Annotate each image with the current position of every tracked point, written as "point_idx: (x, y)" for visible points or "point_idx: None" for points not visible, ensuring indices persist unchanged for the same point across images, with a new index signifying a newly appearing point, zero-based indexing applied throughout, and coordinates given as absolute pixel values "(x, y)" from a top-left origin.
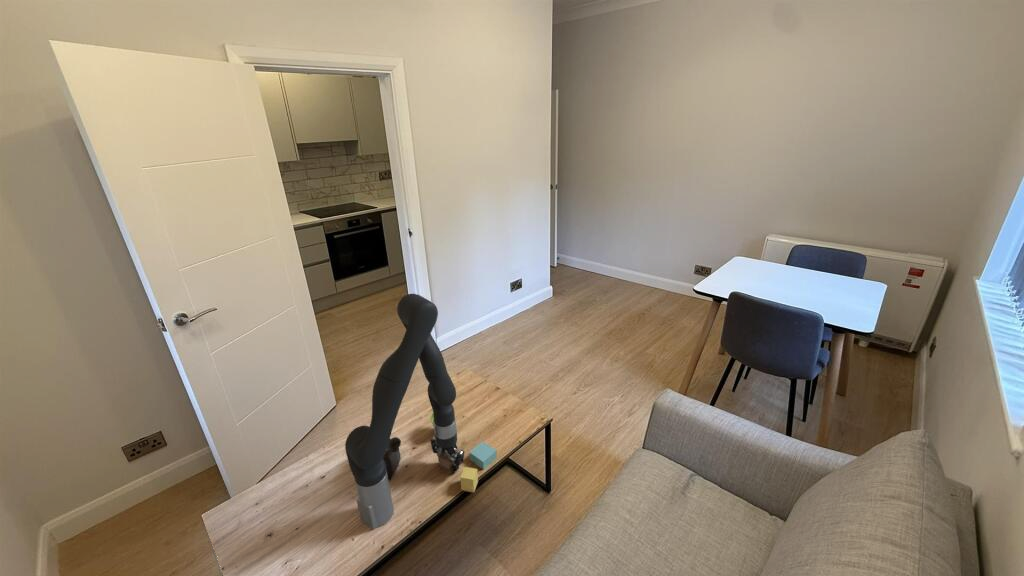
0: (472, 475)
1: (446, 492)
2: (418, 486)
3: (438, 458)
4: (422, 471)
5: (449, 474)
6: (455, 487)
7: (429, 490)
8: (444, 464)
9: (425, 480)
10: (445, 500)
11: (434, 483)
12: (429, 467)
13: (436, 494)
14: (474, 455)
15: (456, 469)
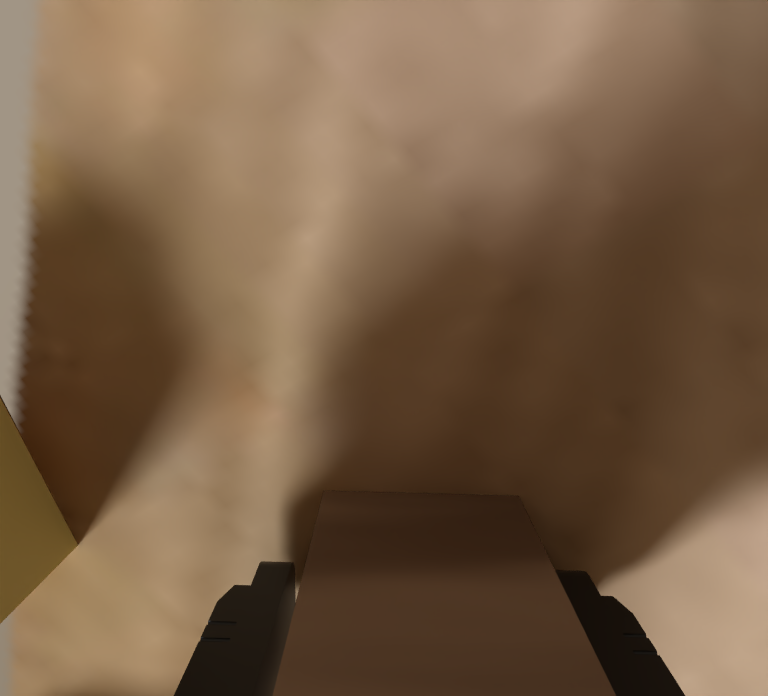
0: None
1: (139, 216)
2: (637, 48)
3: (654, 659)
4: (759, 331)
5: (326, 497)
6: (93, 364)
7: (408, 90)
8: (424, 619)
9: (602, 217)
10: (38, 80)
11: (427, 250)
12: (697, 447)
13: (249, 92)
14: None
15: (209, 625)
